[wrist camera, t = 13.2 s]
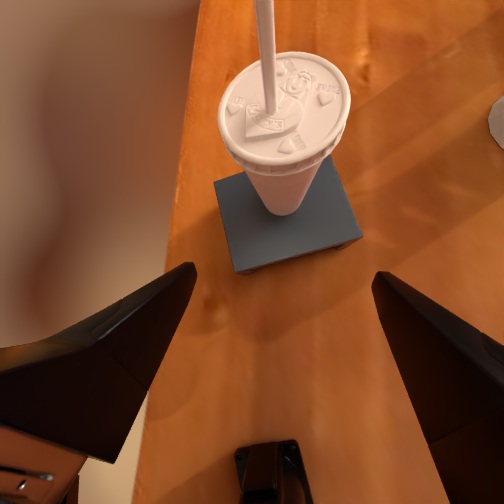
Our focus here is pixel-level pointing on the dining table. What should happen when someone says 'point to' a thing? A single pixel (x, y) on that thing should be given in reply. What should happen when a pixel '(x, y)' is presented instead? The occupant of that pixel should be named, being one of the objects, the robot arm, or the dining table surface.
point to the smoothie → (282, 117)
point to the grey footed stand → (285, 221)
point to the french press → (497, 121)
